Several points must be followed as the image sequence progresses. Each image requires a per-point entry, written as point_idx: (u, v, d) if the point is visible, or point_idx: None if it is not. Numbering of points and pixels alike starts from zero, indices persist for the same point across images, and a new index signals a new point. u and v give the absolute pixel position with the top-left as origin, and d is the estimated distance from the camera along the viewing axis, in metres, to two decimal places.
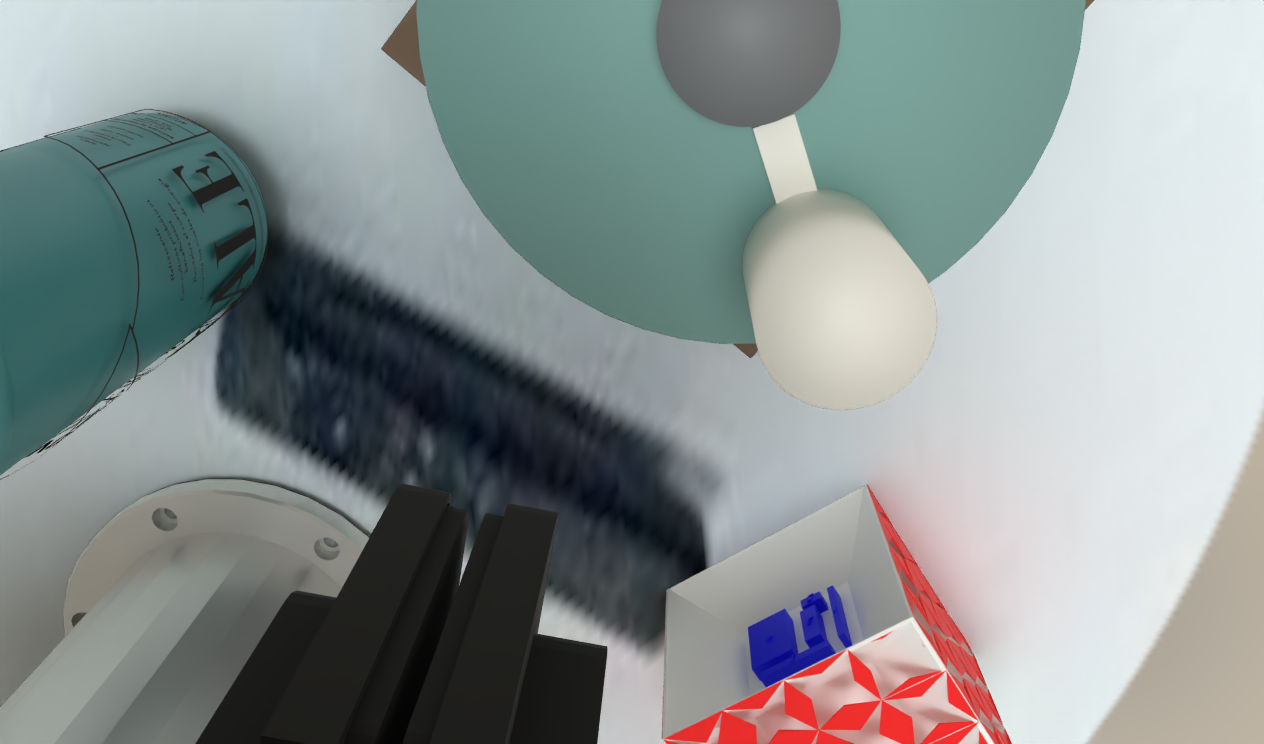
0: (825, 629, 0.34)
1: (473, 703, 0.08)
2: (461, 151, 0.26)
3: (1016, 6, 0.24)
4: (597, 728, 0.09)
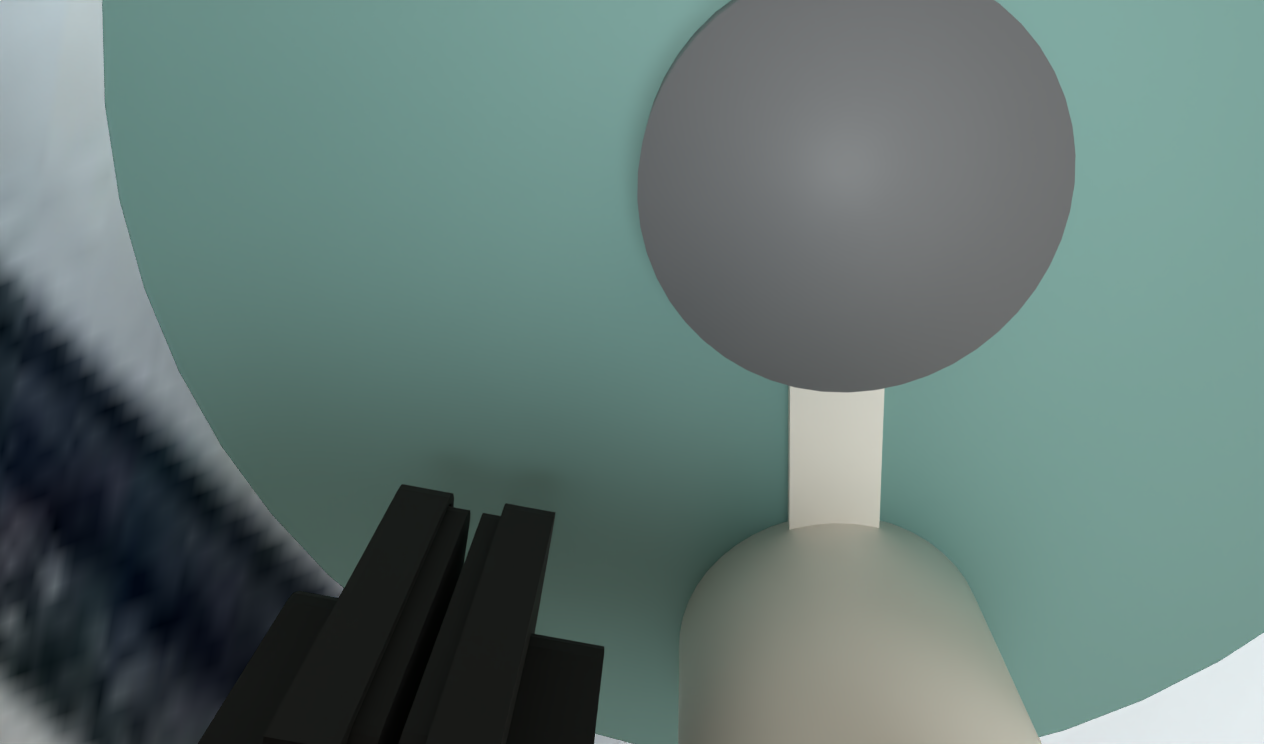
0: None
1: (469, 703, 0.08)
2: (156, 232, 0.11)
3: None
4: (594, 728, 0.09)
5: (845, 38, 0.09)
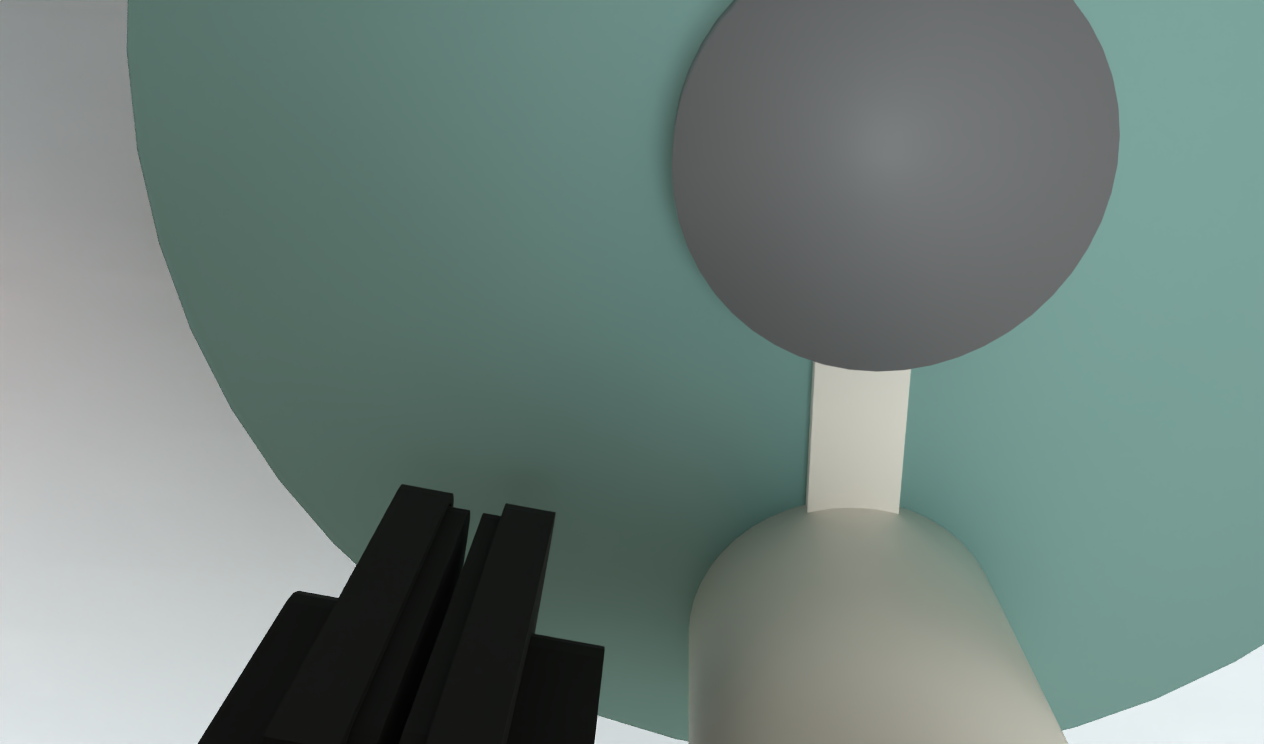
0: None
1: (470, 703, 0.08)
2: (174, 184, 0.11)
3: None
4: (594, 728, 0.09)
5: (892, 6, 0.09)
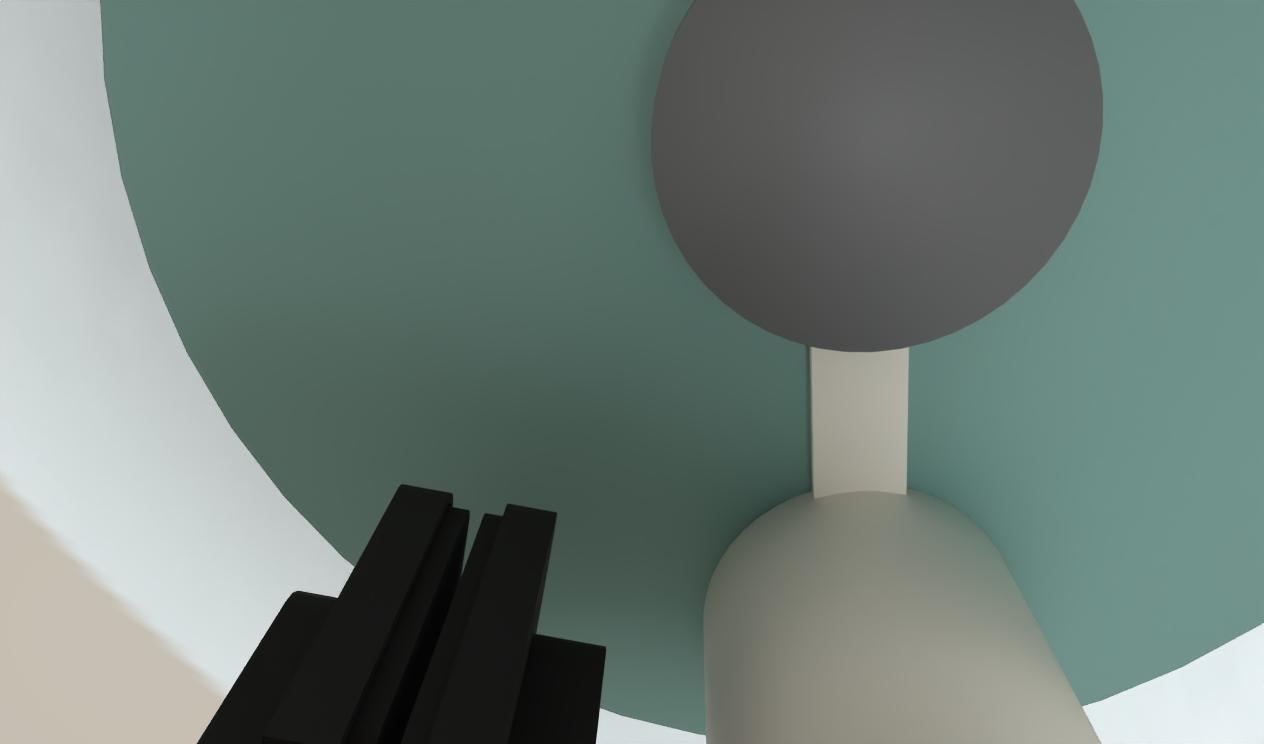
0: None
1: (471, 703, 0.08)
2: (160, 208, 0.11)
3: None
4: (595, 728, 0.09)
5: None
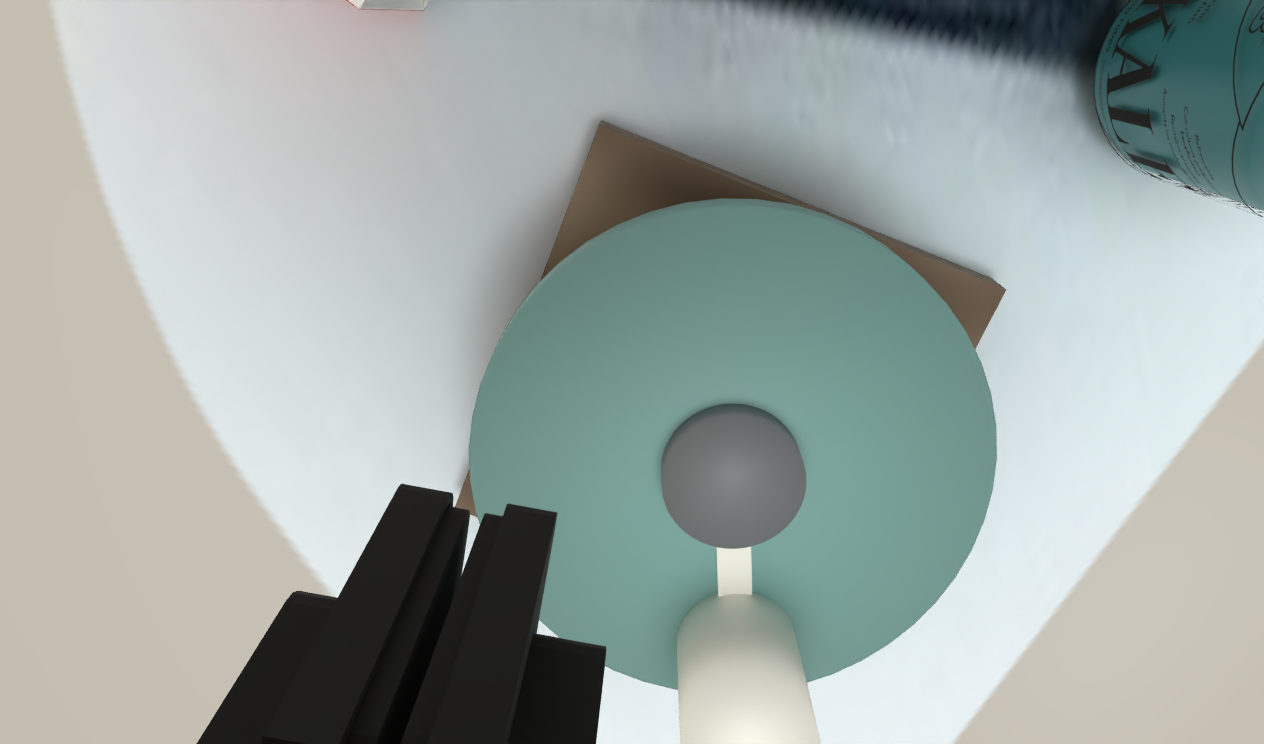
0: None
1: (472, 703, 0.08)
2: (482, 491, 0.31)
3: (934, 509, 0.31)
4: (596, 728, 0.09)
5: (728, 438, 0.29)
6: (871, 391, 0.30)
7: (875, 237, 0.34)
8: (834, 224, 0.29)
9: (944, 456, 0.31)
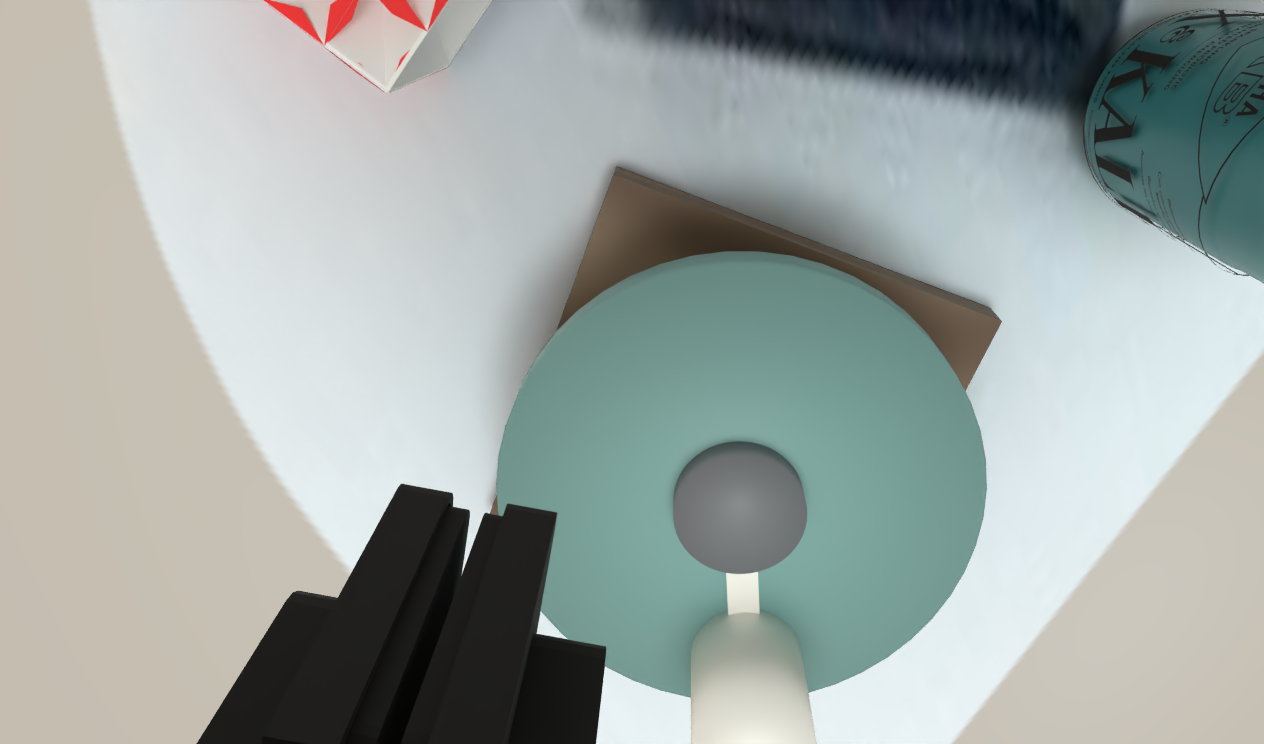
0: None
1: (471, 703, 0.08)
2: None
3: (928, 535, 0.33)
4: (596, 728, 0.09)
5: (734, 475, 0.32)
6: (868, 429, 0.32)
7: (876, 274, 0.36)
8: (830, 278, 0.31)
9: (937, 487, 0.33)
